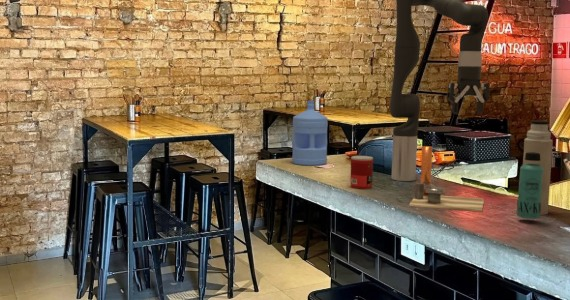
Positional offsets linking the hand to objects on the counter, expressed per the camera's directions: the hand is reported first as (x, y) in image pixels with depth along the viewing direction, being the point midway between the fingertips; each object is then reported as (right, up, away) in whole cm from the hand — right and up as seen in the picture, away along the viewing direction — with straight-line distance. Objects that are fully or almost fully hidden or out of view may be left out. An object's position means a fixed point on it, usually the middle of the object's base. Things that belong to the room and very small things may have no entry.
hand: (467, 113), depth 219 cm
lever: (-14, -28, -6) cm, 32 cm away
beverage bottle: (+8, -33, -33) cm, 47 cm away
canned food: (-34, -26, +17) cm, 46 cm away
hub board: (-9, -29, -9) cm, 32 cm away
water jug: (-51, -18, +73) cm, 91 cm away
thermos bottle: (+15, -31, -20) cm, 40 cm away
